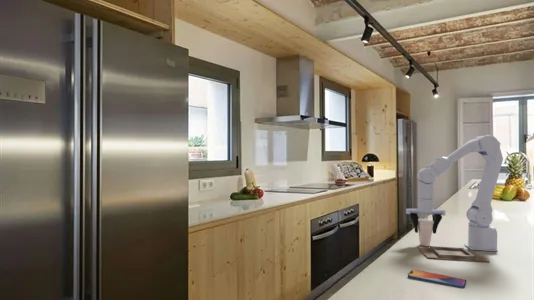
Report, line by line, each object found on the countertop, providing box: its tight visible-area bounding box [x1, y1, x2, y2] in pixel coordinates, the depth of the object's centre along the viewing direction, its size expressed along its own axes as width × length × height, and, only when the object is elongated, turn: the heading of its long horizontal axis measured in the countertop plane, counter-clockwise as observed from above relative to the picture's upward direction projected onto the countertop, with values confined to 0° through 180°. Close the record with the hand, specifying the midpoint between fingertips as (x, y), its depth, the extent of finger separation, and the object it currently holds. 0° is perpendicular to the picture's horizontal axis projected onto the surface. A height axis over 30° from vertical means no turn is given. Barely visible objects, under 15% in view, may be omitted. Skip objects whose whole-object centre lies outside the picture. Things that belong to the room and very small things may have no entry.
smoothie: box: [418, 214, 434, 247], centre depth 152 cm, size 6×6×14 cm
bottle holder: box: [417, 245, 490, 263], centre depth 138 cm, size 20×14×2 cm
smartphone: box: [407, 269, 467, 289], centre depth 111 cm, size 7×15×1 cm, turn 58°
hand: (425, 232), depth 152 cm, fingers closed on smoothie, 6 cm apart
